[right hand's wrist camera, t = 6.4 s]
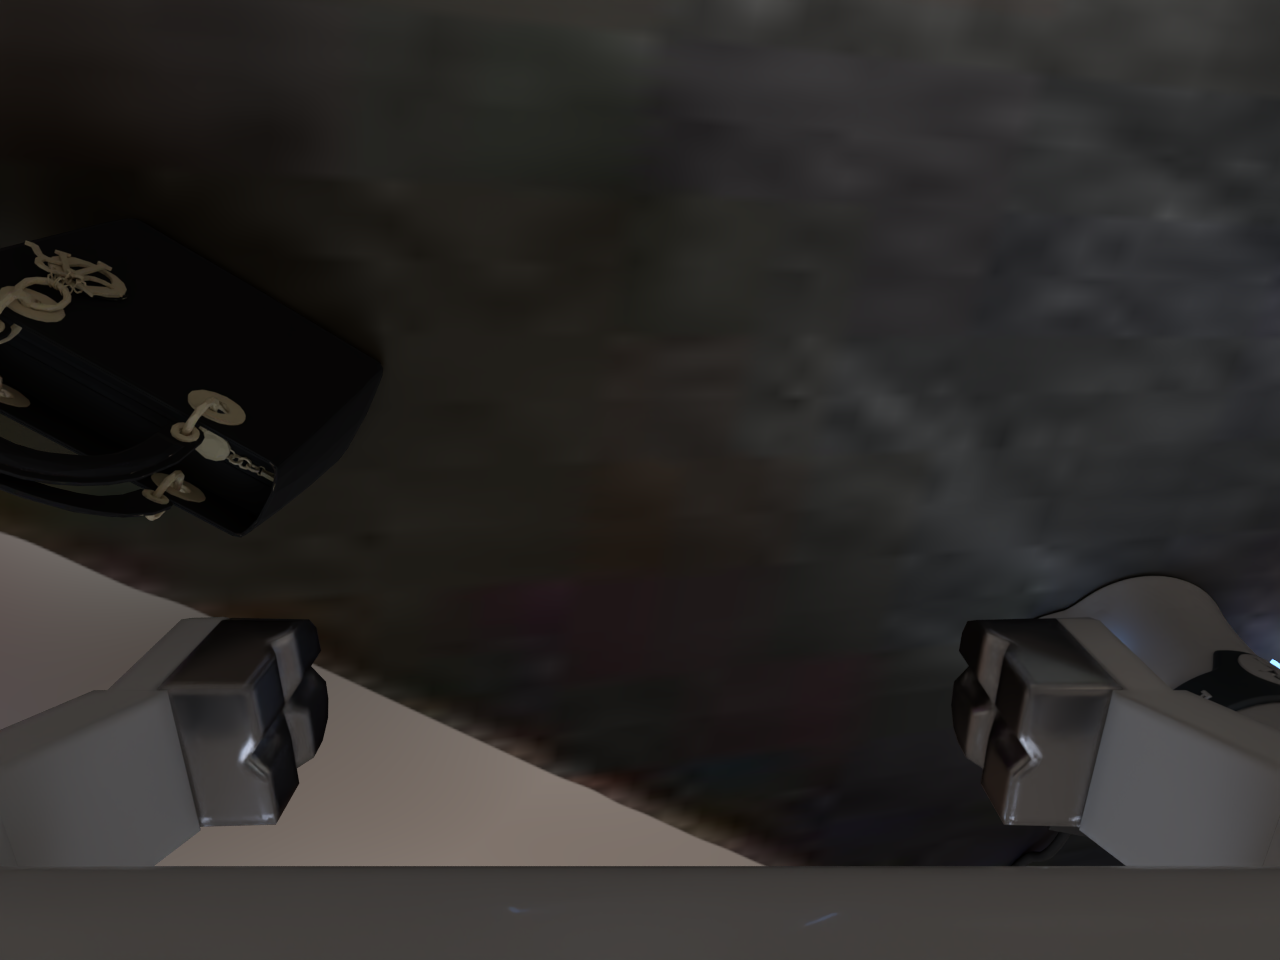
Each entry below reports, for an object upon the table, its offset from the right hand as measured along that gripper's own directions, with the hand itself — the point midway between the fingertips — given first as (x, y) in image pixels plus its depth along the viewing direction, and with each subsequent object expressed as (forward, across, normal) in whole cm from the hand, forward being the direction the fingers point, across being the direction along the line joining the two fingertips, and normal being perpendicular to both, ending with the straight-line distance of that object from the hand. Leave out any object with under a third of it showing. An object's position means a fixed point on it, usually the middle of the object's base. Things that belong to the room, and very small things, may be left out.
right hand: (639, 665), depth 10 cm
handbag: (+48, +28, +5) cm, 56 cm away
